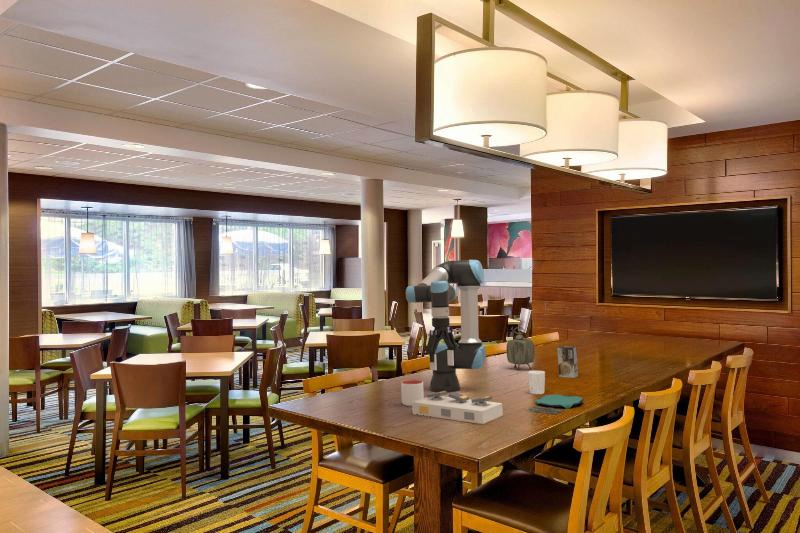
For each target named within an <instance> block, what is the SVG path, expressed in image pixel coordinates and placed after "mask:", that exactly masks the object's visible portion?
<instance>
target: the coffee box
mask: <svg viewBox="0 0 800 533" xmlns="http://www.w3.org/2000/svg"><path fill="white" fill-rule="evenodd" d="M556 349H557V351H556V352H557V362H558V363H557V366H558V367H557V370H558V377H559V378H571V379H573V378H574V379H575V378H578V377H579V369H578V367H579V365H578V348H577V346H575V345H574V346H573V345H572V346H571V345H570V346H569V345H567V346H566V345H565V346H564V345H560V346H558V347H557V348H556Z"/></svg>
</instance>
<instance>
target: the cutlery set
mask: <svg viewBox="0 0 800 533" xmlns="http://www.w3.org/2000/svg"><path fill="white" fill-rule="evenodd" d="M583 401H584V398H582V397H580V396H576V395H575V396H573V395H565V394H547V395H544V396H541V397H539V398H538V397H537V399H535V400H534V403H535V404H537V405H538V406H532V407H529V408H528V410H527V409H526V410H524V411H525V412H530V413H541V414H546V415H548V414H549V415H557V416H558V414H559V413H562V412H565V409H566V410H568V409H569V410H570V409H571V407H572V406H577V405H580V404H582V403H583ZM539 405H542V406H546V407H542V406H539ZM558 407H560V408H561V407H562V408H563V407H564V408H565V409H557V408H558Z"/></svg>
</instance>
